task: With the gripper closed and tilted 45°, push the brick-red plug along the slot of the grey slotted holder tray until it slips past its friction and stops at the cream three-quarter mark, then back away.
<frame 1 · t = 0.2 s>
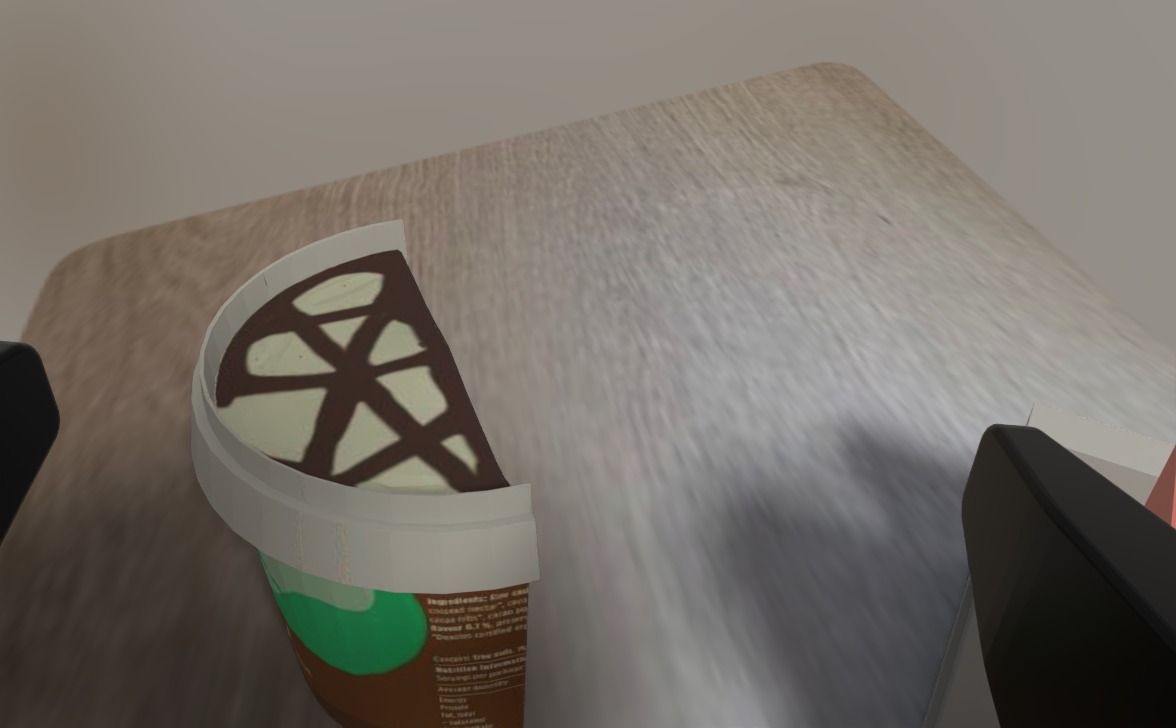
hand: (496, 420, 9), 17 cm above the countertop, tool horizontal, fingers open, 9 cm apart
food container: (369, 644, 27), on the countertop
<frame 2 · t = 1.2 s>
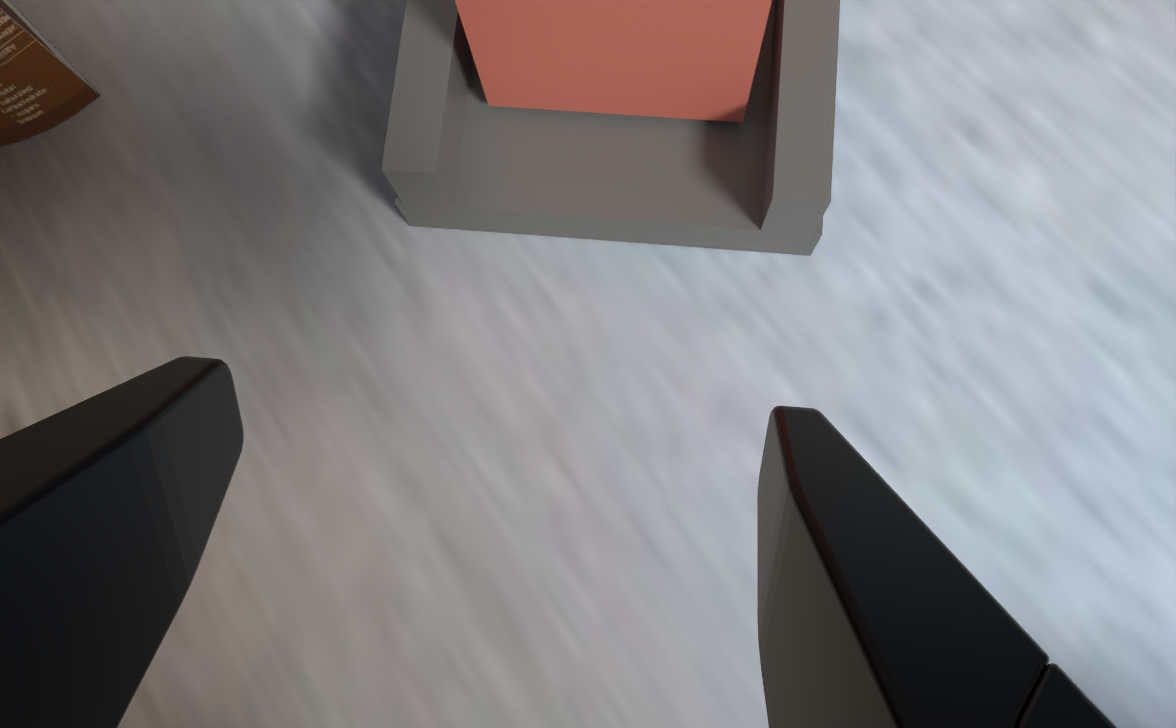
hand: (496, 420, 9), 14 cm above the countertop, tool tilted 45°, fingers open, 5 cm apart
grey slotted holder tray: (624, 57, 25), on the countertop
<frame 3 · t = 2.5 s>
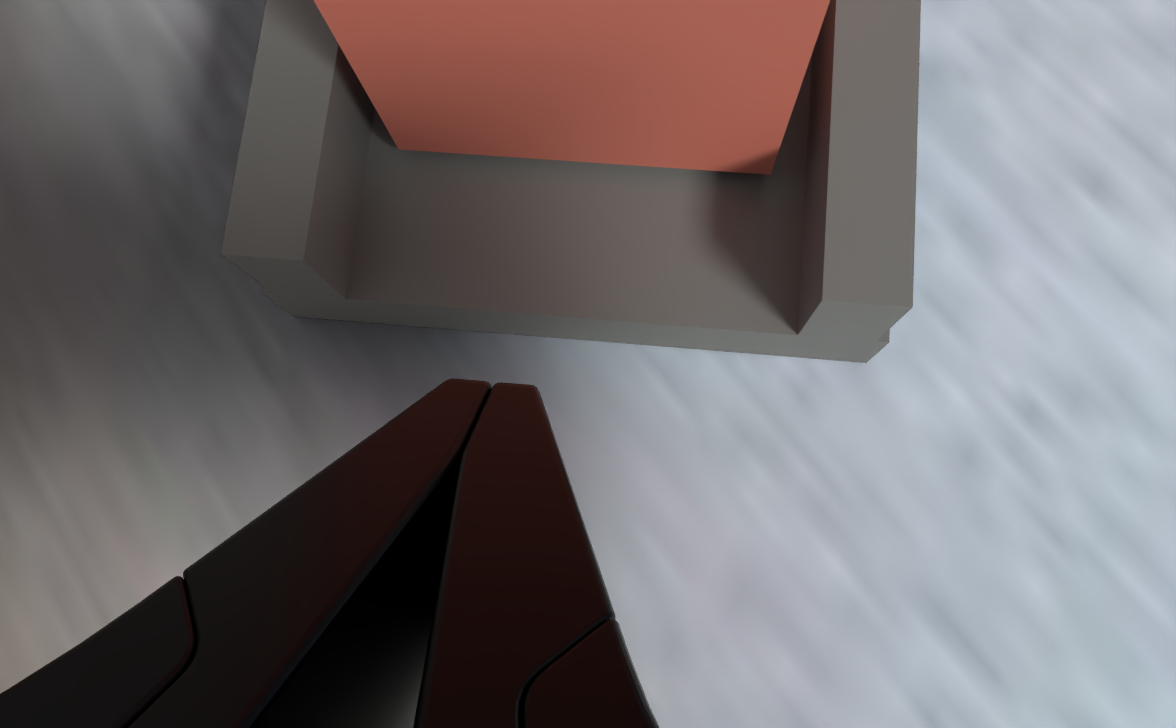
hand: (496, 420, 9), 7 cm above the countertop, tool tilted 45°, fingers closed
grey slotted holder tray: (600, 75, 18), on the countertop
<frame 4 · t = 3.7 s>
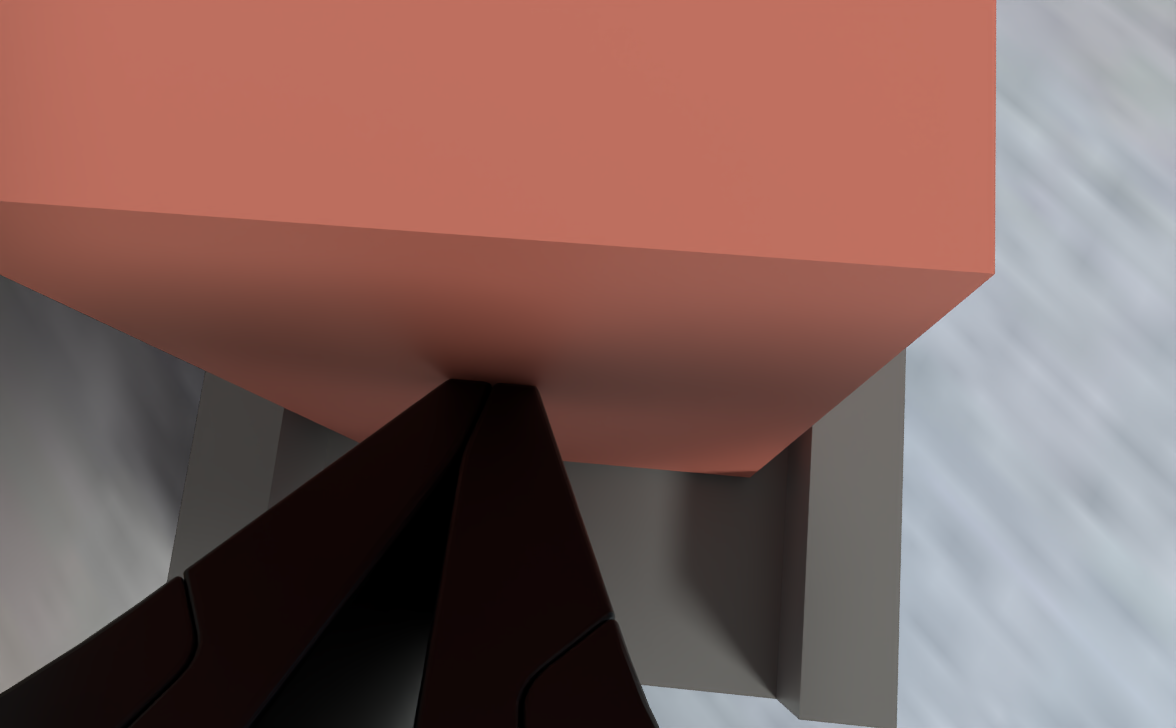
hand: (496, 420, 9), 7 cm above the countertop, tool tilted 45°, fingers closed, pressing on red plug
grey slotted holder tray: (571, 366, 17), on the countertop
red plug: (535, 172, 10), point 7 cm above the countertop, slide at 0.7 cm, touching gripper
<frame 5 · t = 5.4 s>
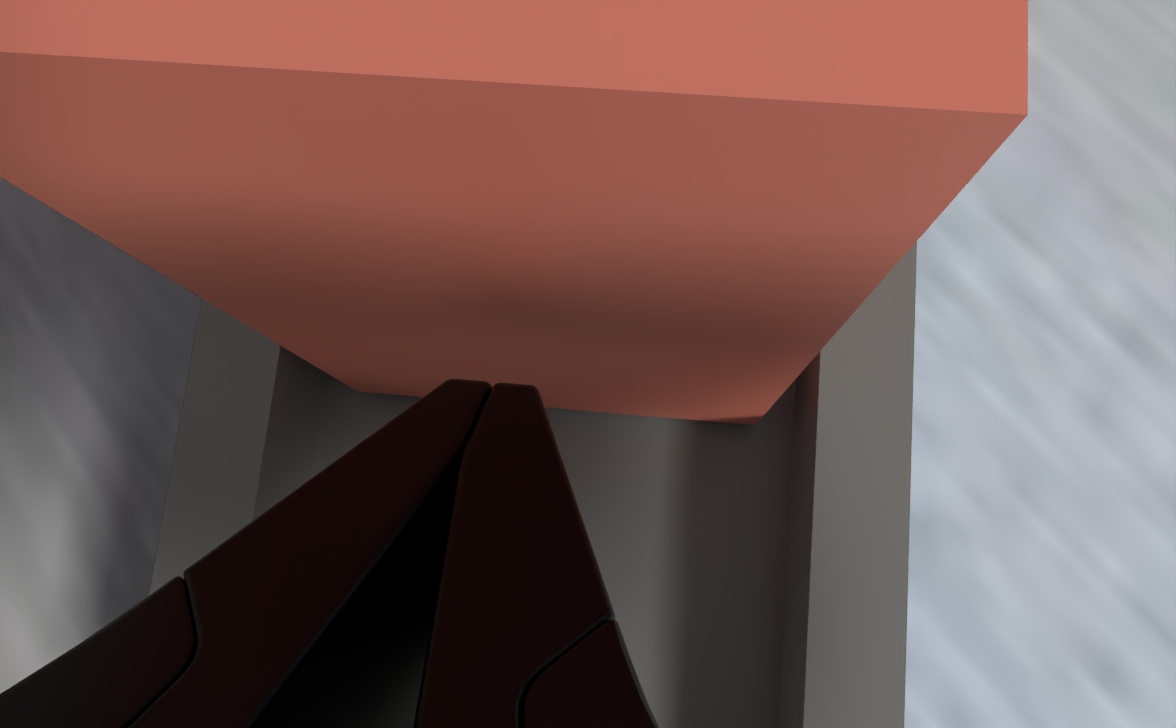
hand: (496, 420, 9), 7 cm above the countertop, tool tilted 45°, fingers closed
grey slotted holder tray: (552, 526, 16), on the countertop
red plug: (535, 94, 10), point 7 cm above the countertop, slide at 4.2 cm
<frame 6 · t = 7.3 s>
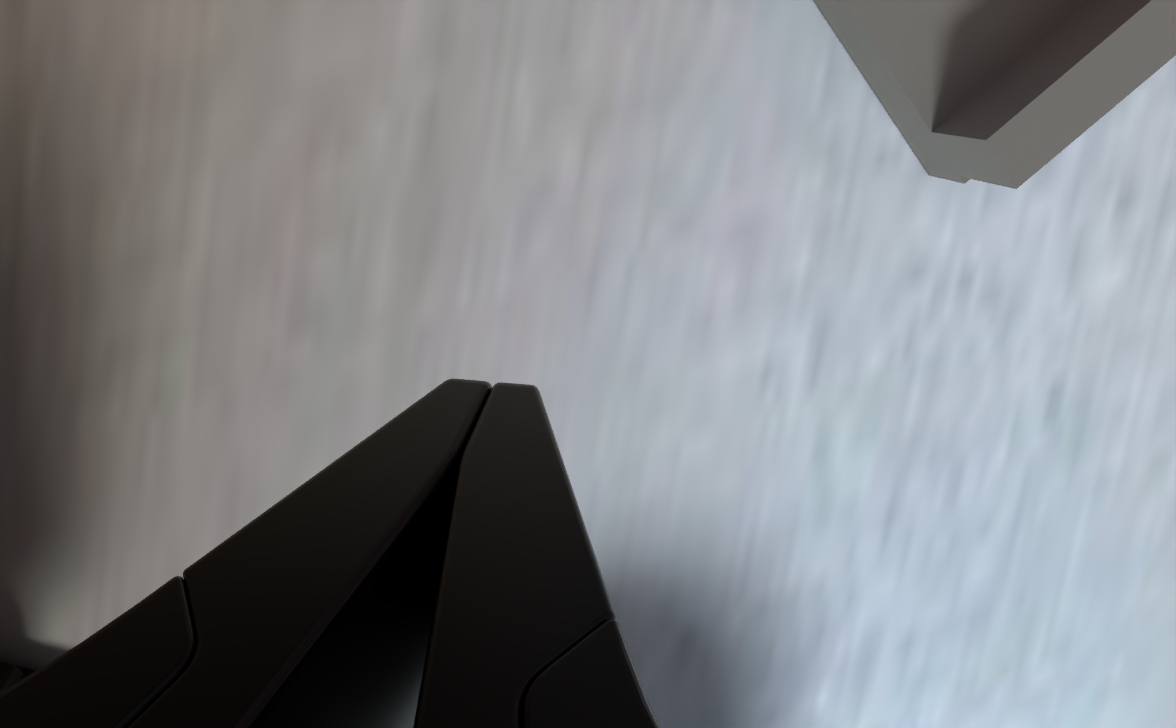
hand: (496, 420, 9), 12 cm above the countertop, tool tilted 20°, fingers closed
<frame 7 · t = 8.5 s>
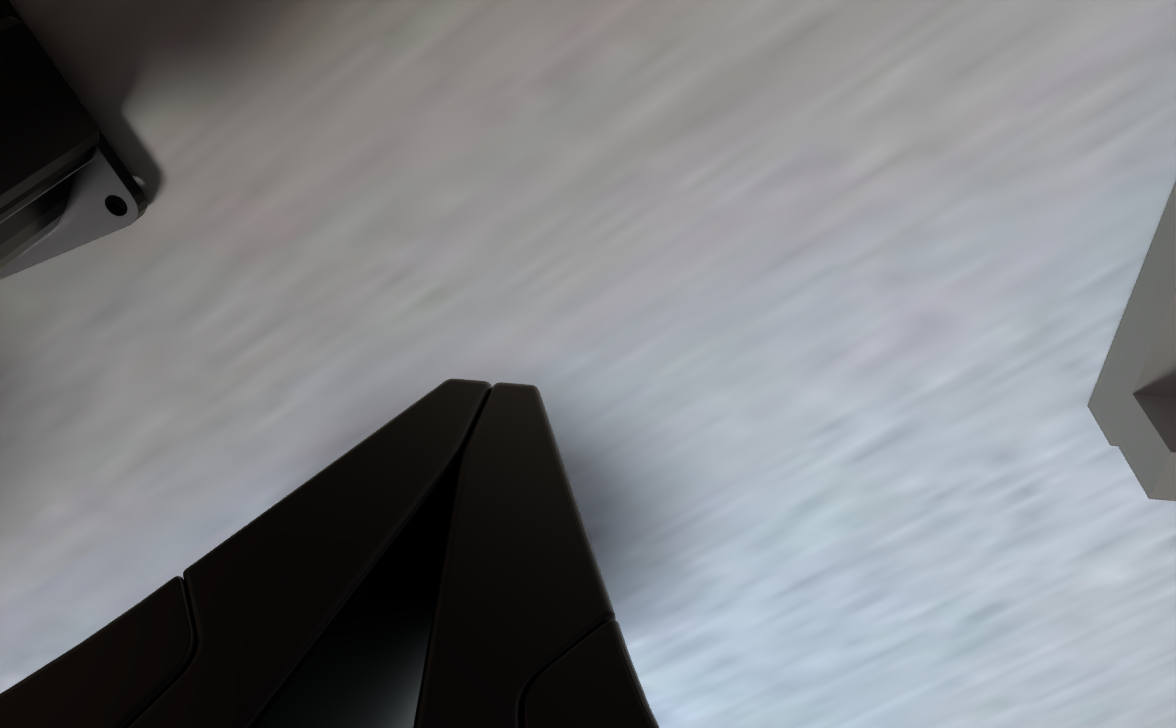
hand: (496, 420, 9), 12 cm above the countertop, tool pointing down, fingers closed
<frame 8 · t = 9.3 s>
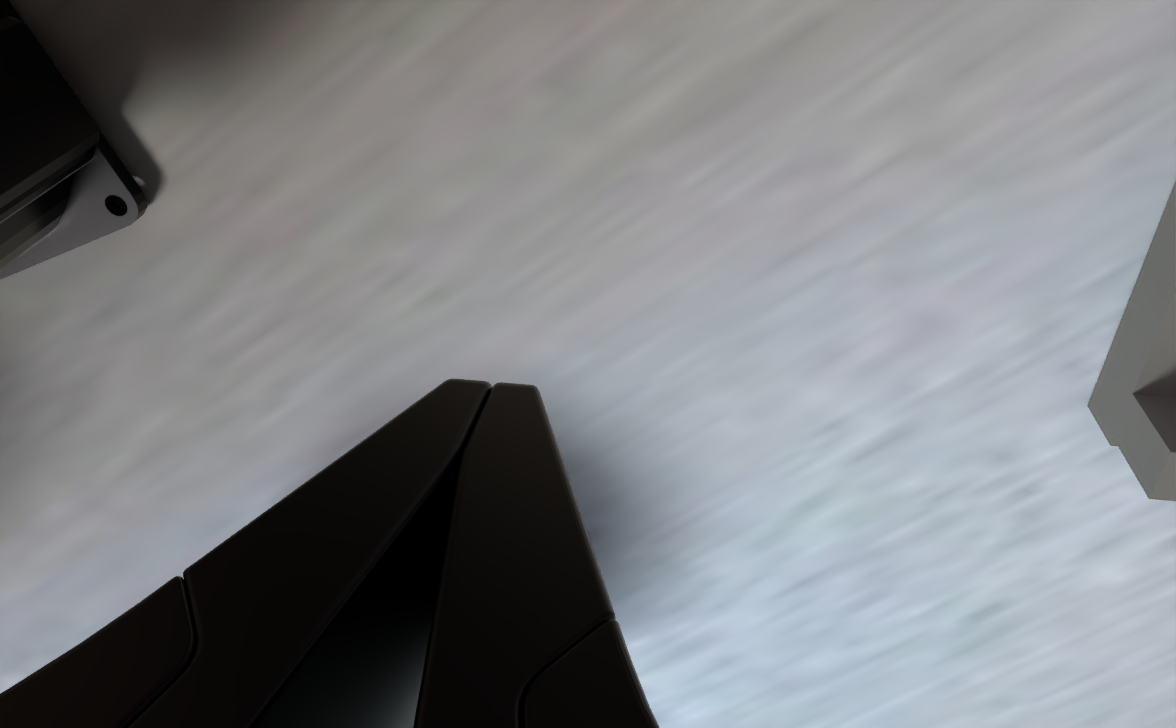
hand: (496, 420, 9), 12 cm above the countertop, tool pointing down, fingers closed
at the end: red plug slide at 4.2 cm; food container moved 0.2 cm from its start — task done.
